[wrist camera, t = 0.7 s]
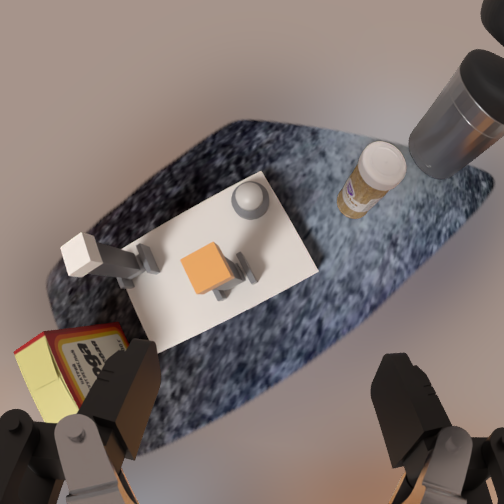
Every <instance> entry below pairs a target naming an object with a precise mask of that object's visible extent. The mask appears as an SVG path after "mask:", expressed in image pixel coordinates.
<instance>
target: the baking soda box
mask: <svg viewBox="0 0 504 504" xmlns="http://www.w3.org/2000/svg"><path fill="white" fill-rule="evenodd" d="M128 346H129V343H128V341H127V339H126V337H125V335H124V333H123V331H122V328H121V326H120V324H119V322H113V323H106V324H99V325H92V326H84V327H76V328H68V329H60V330H51V331H43V332H42V333H40V334H39V335H38V336H36V337H34V338H33V339H32V340H30V341H29V342H27V343H26V344H24V345H23V346H21V347H20V348H18V349H17V350H16V351H14V354H15V357H16V360H17V363H18V365H19V368H20V370H21V373H22V375H23V377H24V380H25V382H26V384H27V387H28V389H29V391H30V393H31V395H32V398H33V399H34V401H35V403H36V406H37V408H38V410H39V412H40V414H41V416H42V418H43V419H44V421H45V422H46V423H58V422H59V421H60V420H61V419H62V418H64V417H66V416H68V415H72V414H76V413H77V412H78V411H79V409H80V407H81V405H82V403H83V401H84V400H85V398H86V396H87V394H88V392H89V391H90V389H91V387H92V385H93V383H94V382H95V380H97V376H98V375H99V373H100V371H102V368H103V366H104V364H105V363H106V361H107V359H108V358H109V357H110V356H112V355H113V354H114V353H115V352H117V351H118V350H122V351H126V349H127V348H128Z"/></svg>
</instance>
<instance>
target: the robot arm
mask: <svg viewBox="0 0 504 504" xmlns="http://www.w3.org/2000/svg"><path fill="white" fill-rule="evenodd" d="M481 20H482V23H483V25H484V27H485V28H486V30H487V31H488V32H489V33H490V34H491V35H492V36H493V37H494V38H495V39H496V40H497V41H498V42H499V43H500V44H501V45H503V46H504V0H484V1H483V4H482V8H481ZM503 136H504V58H502V57H500V56H498V55H496V54H494V53H492V52H489V51H486V50H481V49H476V50H473V51H471V52H469V53H468V55H467V56H466V57H465V58H464V60H463V61H462V63H461V65H460V66H459V68H458V69H457V70H456V72H455V74H454V75H453V76H452V78H451V79H450V81H449V82H448V84H447V85H446V86H445V88H444V89H443V91H442V92H441V93H440V95H439V96H438V98H437V99H436V101H435V102H434V103H433V105H432V106H431V107H430V109H429V110H428V111H427V113H426V114H425V115H424V117H423V118H422V119H421V121H420V122H419V123H418V125H417V126H416V127H415V129H414V130H413V131H412V133H411V134H410V137H409V150H410V153H411V156H412V158H413V159H414V161H415V163H416V164H417V165H418V167H419V168H420V169H421V170H422V171H423V172H425V173H426V174H427V175H429V176H431V177H433V178H436V179H447V178H450V177H451V176H453V175H454V174H455V173H457V172H458V171H459V170H461V169H462V168H463V167H465V166H466V165H467V164H469V163H470V162H471V161H473V160H474V159H475V158H476V157H478V156H479V155H480V154H482V153H483V152H484V151H485V150H487V149H488V148H489V147H490V146H492V145H493V144H494V143H495V142H497V141H498V140H499V139H500V138H502V137H503ZM160 384H161V369H160V364H159V358H158V353H157V347H156V343H155V342H154V341H149V340H143V339H136V338H134V339H132V341H131V342H130V344H129V346H128V348H127V349H126V351H122V350H118V351H117V352H115V353H114V354H113V355H112V356H110V357H109V358H108V359H107V361H106V363H105V364H104V366H103V368H102V371H100V373H99V375H98V376H97V380H95V382H94V383H93V385H92V387H91V389H90V391H89V392H88V394H87V396H86V398H85V400H84V401H83V403H82V405H81V407H80V409H79V411H78V412H77V413H76V414H72V415H68V416H66V417H64V418H62V419H61V420H60V421H59V422H58V423H46V422H34V421H33V420H32V419H31V417H30V416H29V415H28V413H26V412H25V411H23V410H20V409H12V410H9V411H7V412H6V413H4V414H3V415H2V416H1V418H0V504H56V503H57V500H58V497H59V494H60V491H61V488H62V485H63V482H64V480H66V482H67V485H68V488H69V495H67V496H66V502H67V504H139V502H138V500H137V499H136V496H135V495H134V492H133V491H132V489H131V486H130V484H129V482H128V480H127V478H126V476H125V474H124V472H123V470H122V468H121V466H122V463H123V461H124V458H127V459H131V460H135V459H136V456H137V452H138V449H139V446H140V443H141V440H142V437H143V434H144V431H145V428H146V426H147V423H148V420H149V417H150V414H151V411H152V408H153V405H154V402H155V400H156V397H157V394H158V391H159V388H160ZM371 399H372V402H373V405H374V408H375V411H376V414H377V417H378V420H379V424H380V427H381V430H382V433H383V437H384V440H385V444H386V447H387V450H388V454H389V457H390V461H391V464H392V468H398V467H402V466H404V468H405V472H404V473H403V475H402V477H401V479H400V481H399V483H398V485H397V487H396V489H395V491H394V493H393V495H392V497H391V499H390V501H389V503H388V504H493V503H492V500H491V496H490V493H489V490H488V487H487V484H486V480H487V479H488V478H490V477H491V479H492V481H493V484H494V487H495V490H496V494H497V497H498V504H504V428H503V427H502V428H497V429H496V430H494V431H493V433H492V434H491V435H490V436H489V437H487V438H479V437H478V438H477V437H475V438H474V437H470V435H469V434H468V433H467V432H466V431H465V430H464V429H462V428H460V427H457V426H452V424H451V422H450V420H449V418H448V416H447V414H446V412H445V410H444V408H443V406H442V405H441V402H440V400H439V398H438V396H437V395H436V392H435V390H434V388H433V387H431V383H430V381H429V379H428V377H427V375H426V374H425V373H424V372H423V371H422V370H421V369H420V368H419V367H418V366H417V365H415V366H413V365H412V363H411V361H410V359H409V357H408V355H407V354H406V353H393V354H385V355H384V356H383V359H382V361H381V363H380V366H379V368H378V370H377V373H376V375H375V377H374V379H373V382H372V385H371Z"/></svg>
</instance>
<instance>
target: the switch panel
mask: <svg viewBox="0 0 504 504" xmlns="http://www.w3.org/2000/svg"><path fill="white" fill-rule="evenodd" d="M211 242H215V243H216V244H217V245H218V246H219V247H220V249H221V251H222V253H223V255H224V256H225V257H226V258H228V259H229V260H231V261H232V262H234V264H235V263H237V264H238V265H239V267H240V268H241V270H242V272H243V274H244V276H245V278H246V281H244V282H242V283H240V284H238V285H237V286H235V287H233V288H231V289H229V290H227V291H224V290H211V291H209V292H207V293H205V294H196V292H195V290H194V288H193V286H192V284H191V282H190V280H189V278H188V276H187V274H186V272H185V269H184V267H183V265H182V263H181V261H180V259H182V258H184V257H186V256H188V255H189V254H191V253H193V252H195V251H197V250H199V249H200V248H202V247H204V246H206V245H208V244H209V243H211ZM121 250H125V251H128V252H131V253H134V254H135V256H136V255H138V254H139V255H140V257H141V260H142V262H143V265H144V267H145V269H146V271H145V272H143V273H142V274H140V275H138V276H136V277H135V278H133V279H131V280H129V279H126V278H118V277H116V278H117V281H118V283H119V286H120V288H123V289H126V290H127V292H128V295H129V297H130V299H131V302H132V304H133V306H134V308H135V311H136V313H137V315H138V317H139V320H140V322H141V324H142V326H143V328H144V330H145V332H146V334H147V337H148V339H149V341H154V342H155V343H156V347H157V353H160V352H162V351H164V350H166V349H168V348H170V347H173V346H175V345H177V344H179V343H181V342H183V341H185V340H187V339H189V338H191V337H193V336H196V335H198V334H200V333H202V332H204V331H206V330H208V329H210V328H212V327H214V326H216V325H218V324H220V323H222V322H224V321H226V320H228V319H230V318H232V317H234V316H236V315H238V314H240V313H242V312H244V311H246V310H248V309H250V308H251V307H253V306H255V305H257V304H259V303H261V302H263V301H265V300H267V299H269V298H271V297H273V296H274V295H276V294H278V293H280V292H282V291H284V290H286V289H288V288H289V287H291V286H293V285H295V284H297V283H299V282H300V281H302V280H304V279H306V278H308V277H310V276H311V275H313V274H315V273H317V272H319V271H318V269H317V267H316V266H315V264H314V262H313V260H312V258H311V256H310V255H309V253H308V251H307V249H306V247H305V246H304V244H303V242H302V240H301V238H300V237H299V235H298V233H297V231H296V229H295V228H294V226H293V224H292V222H291V221H290V219H289V217H288V215H287V214H286V212H285V210H284V208H283V207H282V205H281V203H280V202H279V200H278V198H277V196H276V195H275V193H274V191H273V190H272V188H271V186H270V185H269V183H268V181H267V179H266V178H265V176H264V174H263V173H262V171H260V172H258V173H256V174H254V175H252V176H250V177H248V178H246V179H244V180H242V181H240V182H238V183H237V184H235V185H233V186H231V187H229V188H227V189H225V190H223V191H221V192H220V193H218V194H216V195H214V196H212V197H210V198H208V199H207V200H205V201H203V202H201V203H199V204H198V205H196V206H194V207H192V208H190V209H189V210H187V211H185V212H183V213H182V214H180V215H178V216H176V217H175V218H173V219H171V220H169V221H168V222H166V223H164V224H162V225H161V226H159V227H157V228H156V229H154V230H152V231H151V232H149V233H147V234H146V235H144V236H142V237H141V238H139V239H137V240H136V241H134V242H132V243H131V244H129V245H128V246H126V247H124V248H123V249H121Z"/></svg>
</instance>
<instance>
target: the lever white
mask: <svg viewBox="0 0 504 504" xmlns="http://www.w3.org/2000/svg"><path fill="white" fill-rule="evenodd" d="M61 251H62V255H63V258H64V262H65V265H66V268H67V272H68V275H69V276H75V277H83V276H84V275H86V274H95V275H102V276H110V277H118V278H126V279H129V280H131V279H133V278H135V277H136V276H138V275H140V274H142V273H143V272H145V271H146V269H145V267H144V265H143V262H142V260H141V257H140V255H139V254H138V255H136V256H135V254H134V253H131V252H128V251H125V250H121V249H118V248H115V247H112V246H108V245H105V244H102V243H99V242H96V241H95V238H94V236H92V235H89V234H86V233H83V232H81V233H79V234H78V235H77V236H75V237H74V238H72V239H71V240H70V241H69V242H67V243H66V244H65V245H63V246H62V247H61Z"/></svg>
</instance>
